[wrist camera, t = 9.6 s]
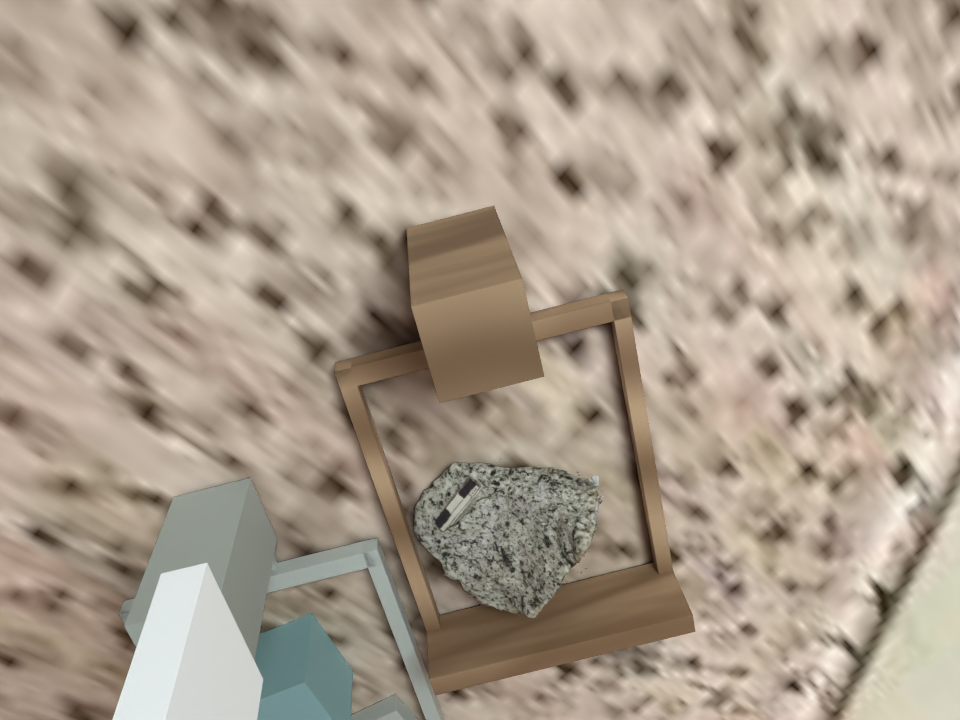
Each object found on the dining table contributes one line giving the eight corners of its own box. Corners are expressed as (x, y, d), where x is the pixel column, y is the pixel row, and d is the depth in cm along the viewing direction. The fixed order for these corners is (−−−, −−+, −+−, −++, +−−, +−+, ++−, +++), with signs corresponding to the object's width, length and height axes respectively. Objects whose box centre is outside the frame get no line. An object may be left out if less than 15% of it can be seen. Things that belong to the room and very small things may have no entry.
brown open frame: (297, 256, 38) (272, 342, 30) (603, 177, 38) (661, 242, 30) (431, 634, 48) (439, 772, 40) (670, 574, 48) (726, 702, 40)
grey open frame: (78, 520, 43) (6, 655, 35) (346, 453, 43) (336, 573, 35) (243, 810, 54) (217, 964, 46) (458, 758, 53) (470, 903, 45)
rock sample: (414, 450, 39) (540, 603, 36) (527, 383, 43) (647, 516, 41) (365, 547, 46) (466, 680, 44) (466, 482, 51) (563, 599, 48)
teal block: (232, 644, 48) (216, 716, 43) (312, 611, 47) (304, 682, 43) (276, 699, 50) (265, 774, 46) (353, 669, 50) (349, 742, 45)
